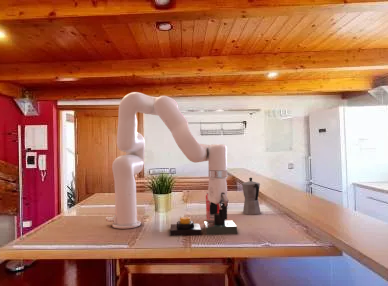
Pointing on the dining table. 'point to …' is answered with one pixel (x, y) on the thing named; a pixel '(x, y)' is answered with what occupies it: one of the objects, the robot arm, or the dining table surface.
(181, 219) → the button
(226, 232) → the control panel
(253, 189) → the coffeepot
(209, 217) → the soda can
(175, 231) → the button housing
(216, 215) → the dial knob
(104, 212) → the dining table surface
